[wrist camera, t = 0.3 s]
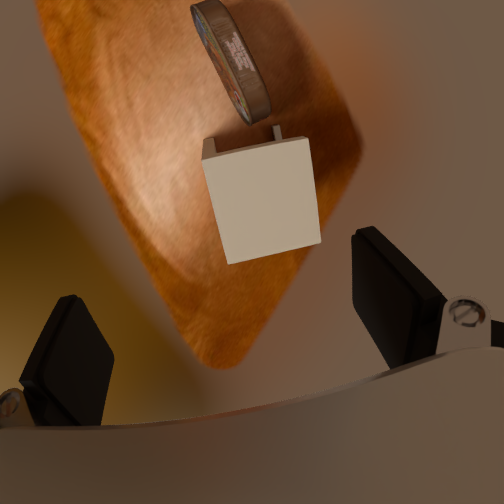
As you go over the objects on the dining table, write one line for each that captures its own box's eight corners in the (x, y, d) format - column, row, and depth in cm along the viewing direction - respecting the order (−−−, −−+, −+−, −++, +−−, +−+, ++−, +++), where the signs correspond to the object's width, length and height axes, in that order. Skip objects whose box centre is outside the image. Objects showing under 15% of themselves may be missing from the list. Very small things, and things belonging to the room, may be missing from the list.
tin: (189, 17, 29) (184, -3, 21) (214, 6, 29) (216, -16, 21) (241, 124, 36) (251, 132, 29) (266, 113, 36) (281, 119, 28)
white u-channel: (203, 139, 36) (201, 160, 25) (277, 124, 36) (308, 138, 25) (221, 215, 41) (228, 264, 30) (290, 200, 41) (321, 242, 30)
